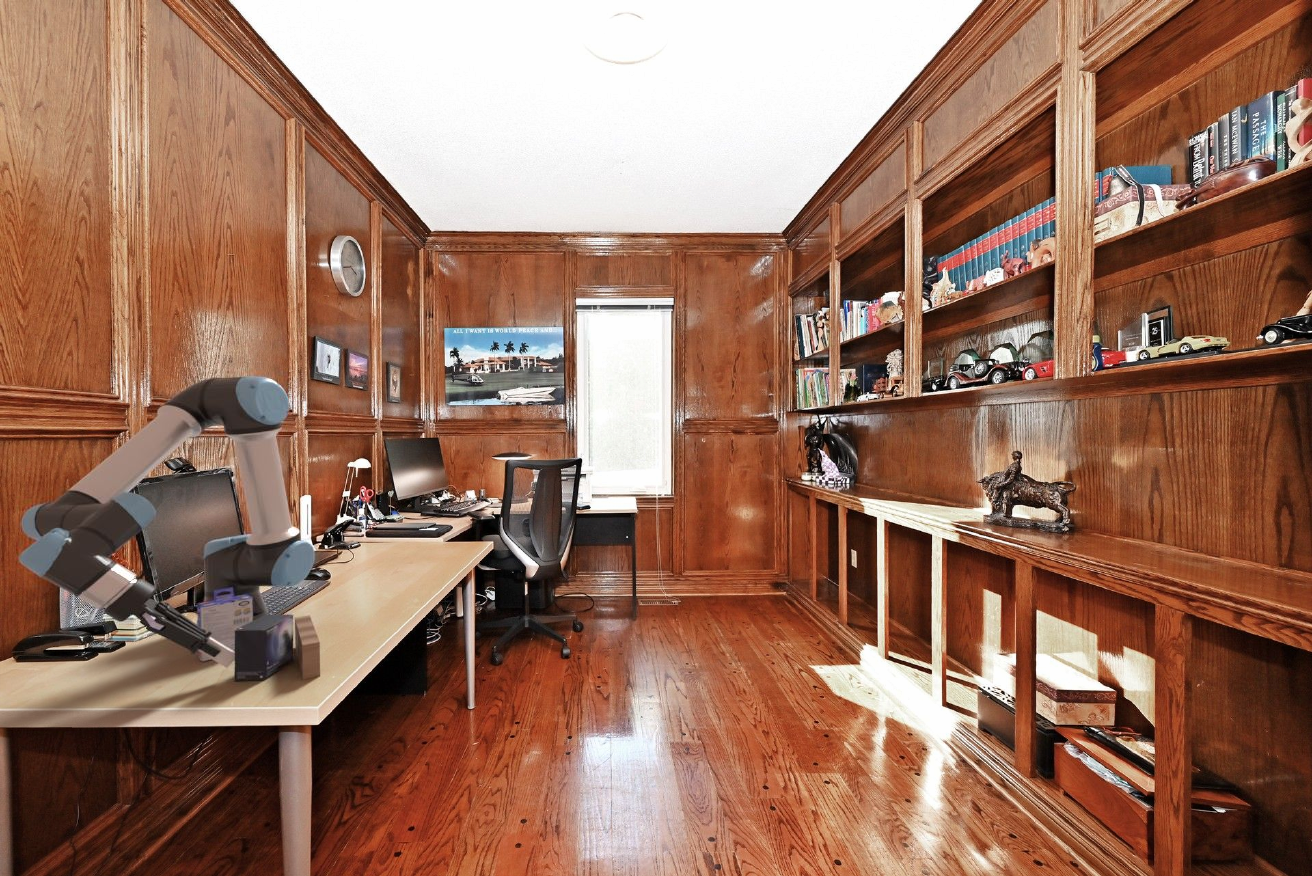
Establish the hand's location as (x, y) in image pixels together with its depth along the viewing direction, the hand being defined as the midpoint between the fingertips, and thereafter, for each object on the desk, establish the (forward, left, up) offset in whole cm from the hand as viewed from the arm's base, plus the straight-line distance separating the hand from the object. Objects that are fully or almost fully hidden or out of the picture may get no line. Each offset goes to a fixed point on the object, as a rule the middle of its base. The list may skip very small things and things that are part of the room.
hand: (232, 660), depth 117 cm
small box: (0, +6, -4) cm, 7 cm away
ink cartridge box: (-18, -1, -4) cm, 19 cm away
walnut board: (-1, +13, -4) cm, 14 cm away
